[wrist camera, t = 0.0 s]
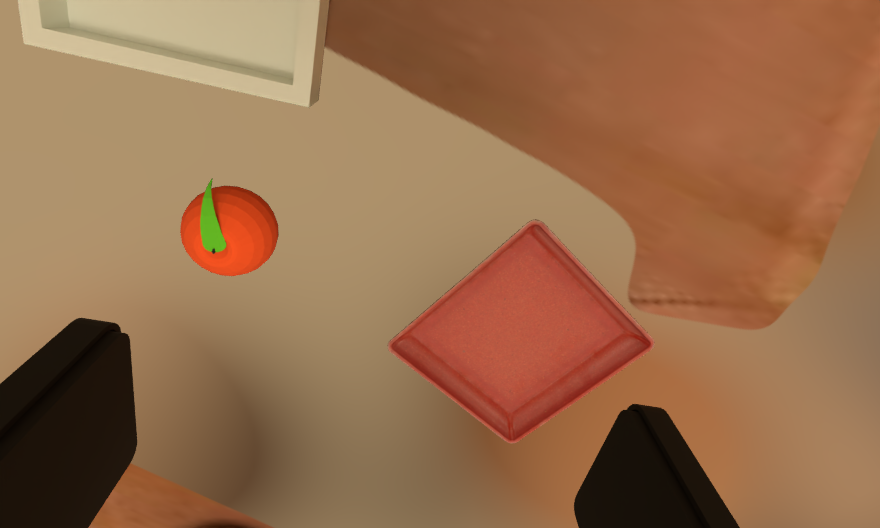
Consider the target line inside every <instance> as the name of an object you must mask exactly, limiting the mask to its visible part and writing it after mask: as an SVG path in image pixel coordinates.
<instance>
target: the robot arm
mask: <svg viewBox="0 0 880 528" xmlns="http://www.w3.org/2000/svg"><path fill="white" fill-rule="evenodd" d="M136 446H137V432H136V419H135V405H134V392H133V377H132V364H131V350H130V339H129V336H128V334H125V333H121V330H120V327H119V325H118V324H116V323H111V322H105V321H98V320H92V319H85V318H78V319H76V320H74V321H73V322H71V323H70V324H69V325H68V326H66V327H65V328H64V329H63V330H62V331H61V332H60V333H58V334H57V335H56V336H55V337H54V338H53V339H51V340H50V341H49V342H48V343H47V344H46V345H45V346H44V347H42V348H41V349H40V350H39V351H38V352H37V353H35V354H34V355H33V356H32V357H31V358H30V359H29V360H27V361H26V362H25V363H24V364H23V365H21V366H20V367H19V368H18V369H17V370H16V371H15V372H13V373H12V374H11V375H10V376H9V377H8V378H7V379H5V380H4V381H3V382H2V383H1V384H0V528H88V527H89V526H90V524H91V522H92V521H93V519H94V518H95V516H96V515H97V513H98V512H99V510H100V509H101V507H102V506H103V504H104V503H105V501H106V499H107V498H108V496H109V495H110V493H111V492H112V490H113V489H114V487H115V486H116V484H117V483H118V481H119V480H120V478H121V476H122V475H123V473H124V472H125V470H126V469H127V467H128V466H129V464H130V462H131V461H132V459H133V456H134V454H135V451H136ZM574 511H575V516H576V520H577V523H578V526H579V528H740V527H739V526H738V524H737V523H736V521H735V519H734V518H733V516H732V515H731V513H730V512H729V510H728V508H727V507H726V505H725V504H724V502H723V500H722V499H721V498H720V496H719V494H718V493H717V491H716V489H715V488H714V486H713V485H712V483H711V481H710V480H709V478H708V477H707V475H706V474H705V472H704V470H703V469H702V467H701V466H700V464H699V462H698V461H697V459H696V458H695V456H694V455H693V453H692V451H691V450H690V448H689V447H688V445H687V444H686V442H685V440H684V439H683V437H682V436H681V434H680V432H679V431H678V429H677V428H676V426H675V425H674V423H673V421H672V420H671V418H670V417H669V415H668V414H667V412H666V411H665V410H664V409H661V408H658V407H652V406H645V405H639V404H632V405H631V406H629V408H628V409H627V410H623V411H621V412H620V414H619V415H618V417H617V419H616V421H615V423H614V425H613V427H612V428H611V431H610V432H609V434H608V436H607V438H606V440H605V442H604V444H603V446H602V447H601V449H600V451H599V453H598V455H597V457H596V459H595V461H594V463H593V465H592V466H591V468H590V470H589V472H588V474H587V476H586V478H585V480H584V482H583V484H582V486H581V487H580V489H579V491H578V493H577V495H576V498H575V502H574Z"/></svg>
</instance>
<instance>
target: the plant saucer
mask: <svg viewBox="0 0 880 528" xmlns="http://www.w3.org/2000/svg"><path fill="white" fill-rule="evenodd" d="M654 343H655V342H654V340H653V338H652V337H651V336H650V335H649V334H648V333H647V332H646V331H645V330H644V329H643V328H642V327H641V326H640V325H639V323H638V322H637V321H636V320H635V319H634V318H633V317H632V316H631V315H630V314H629V313H628V312H627V311H626V310H625V309H624V308H623V307H622V306H621V305H620V304H619V302H618V301H617V300H616V299H615V298H614V297H613V296H612V295H611V294H610V293H609V292H608V291H607V290H606V289H605V288H604V287H603V286H602V284H601V283H600V282H599V281H598V280H597V279H596V278H595V277H594V276H593V275H592V274H591V273H590V272H589V271H588V270H587V269H586V268H585V266H584V265H583V264H582V263H581V262H580V261H579V260H578V259H577V258H576V257H575V256H574V255H573V254H572V253H571V252H570V251H569V250H568V249H567V247H566V246H565V245H564V244H563V243H562V242H561V241H560V240H559V239H558V238H557V237H556V235H555V234H554V233H553V232H551V230H550V229H549V228H548V227H547V226H546V225H545V224H544V223H543V222H541V221H539V220H531V221H529V222H528V223H527V224H526V225H524V226H523V227H522V228H521V229H520V230H519V231H517V232H516V233H515V234H514V235H513V236H511V237H510V238H509V239H508V240H507V241H506V242H505V243H503V244H502V245H501V246H500V247H499V248H498V249H497V250H495V251H494V252H493V253H492V254H491V255H490V256H488V257H487V258H486V259H485V260H484V261H483V262H482V263H480V264H479V265H478V266H477V267H476V268H475V269H473V270H472V271H471V272H470V273H469V274H468V275H467V276H465V277H464V278H463V279H462V280H460V281H459V282H458V283H457V284H456V285H455V286H453V287H452V288H451V289H450V290H449V291H447V292H446V293H445V294H444V295H443V296H442V297H440V298H439V299H438V300H437V301H436V302H435V303H434V304H432V305H431V306H430V307H429V308H428V309H427V310H425V311H424V312H423V313H422V314H421V315H419V316H418V317H417V318H416V319H415V320H414V321H412V322H411V323H410V324H409V325H408V326H407V327H405V328H404V329H403V330H402V331H401V332H400V333H398V334H397V335H396V336H395V337H394V338H393V339H392V340H390V341H389V343H388V350H389V351H390V352H391V353H392V354H394V355H395V356H396V357H397V358H399V359H400V360H401V361H402V362H404V363H405V364H406V365H408V366H409V367H410V368H412V369H413V370H414V371H416V372H417V373H418V374H419V375H421V376H422V377H423V378H425V379H426V380H427V381H428V382H429V383H431V384H433V385H434V386H435V387H436V388H438V389H439V390H440V391H442V392H443V393H444V394H445V395H446V396H448V397H449V398H450V399H452V400H453V401H454V402H456V403H457V404H458V405H460V406H461V407H462V408H463V409H465V410H466V411H468V412H469V413H470V414H471V415H472V416H473V417H475V418H476V419H477V420H479V421H480V422H481V423H483V424H484V425H485V426H487V427H488V428H489V429H490V430H492V431H493V432H494V433H495V434H497V435H498V436H499V437H501V438H502V439H503V440H504V441H506V442H508V443H516V442H518V441H519V440H521V439H522V438H524V437H525V436H527V435H528V434H530V433H531V432H533V431H534V430H535V429H537V428H539V427H540V426H541V425H543V424H544V423H546V422H547V421H549V420H550V419H552V418H553V417H554V416H556V415H557V414H559V413H560V412H562V411H563V410H565V409H566V408H568V407H569V406H570V405H572V404H573V403H575V402H576V401H578V400H579V399H581V398H582V397H584V396H585V395H586V394H588V393H590V392H591V391H592V390H594V389H595V388H597V387H598V386H599V385H601V384H602V383H604V382H606V381H607V380H608V379H610V378H611V377H613V376H614V375H615V374H617V373H618V372H620V371H622V370H623V369H624V368H625V367H627V366H628V365H630V364H632V363H633V362H634V361H636V360H637V359H639V358H640V357H642V356H643V355H645V354H646V353H647V352H649V351H650V350H651V349H652V348H653V347H654Z"/></svg>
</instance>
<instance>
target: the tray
mask: <svg viewBox="0 0 880 528" xmlns="http://www.w3.org/2000/svg"><path fill="white" fill-rule="evenodd" d="M329 1H330V0H18V5H19V12H20V19H21V26H22V33H23V40H24V44H27V45H32V46H36V47H41V48H45V49H50V50H55V51H59V52H63V53H68V54H72V55H77V56H81V57H85V58H90V59H94V60H99V61H104V62H108V63H112V64H117V65H121V66H126V67H130V68H135V69H139V70H143V71H148V72H152V73H157V74H162V75H166V76H170V77H175V78H179V79H183V80H188V81H192V82H197V83H201V84H206V85H210V86H215V87H219V88H223V89H228V90H233V91H237V92H242V93H246V94H250V95H255V96H259V97H264V98H268V99H273V100H277V101H282V102H286V103H291V104H295V105H299V106H304V107H308V108H309V107H310V106H312V105H313V104H314V103H315V102H317V101H318V99H319V90H320V81H321V72H322V64H323V54H324V46H325V37H326V28H327V19H328V10H329Z"/></svg>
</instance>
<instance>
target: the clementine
mask: <svg viewBox="0 0 880 528" xmlns="http://www.w3.org/2000/svg"><path fill="white" fill-rule="evenodd" d="M211 185H212V179H211V181H210V183H209V184H208V186H207V188H206V191H205V192H204V193H202V194H200V195H198V196H197V197H196V198H195V199H194V200H193V201H192V202H191V203H190V204H189V206H188V207H187V209H186V210H185V212H184V214H183V217H182V222H181V238H182V243H183V245H184V247H185V250H186V252H187V253H188V254H189V256H190V257H191V258H192V259H193V261H195V262H196V263H197V264H198V265H200V266H201V267H202V268H204V269H206V270H208V271H210V272H212V273H216V274H219V275H225V276H235V275H241V274H246V273H249V272H251V271H253V270H256V269H258V268H259V267H260V266H261V265H262V264H263V263H265V262H266V261H267V260H268V259H269V258H270V256H271V255H272V253H273V251H274V249H275V247H276V243H277V239H278V224H277V221H276V218H275V216H274V213H273V211H272V210H271V208H270V207H269V205H268V204H267V203H266V202H265V201H264V200H263V199H262V198H261V197H260V196H258V195H257V194H255V193H253V192H252V191H249V190H246V189H243V188H240V187H233V186H221V187H215V188H212V189H211Z"/></svg>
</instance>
